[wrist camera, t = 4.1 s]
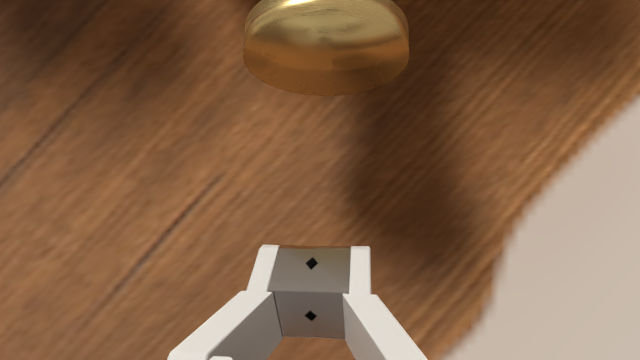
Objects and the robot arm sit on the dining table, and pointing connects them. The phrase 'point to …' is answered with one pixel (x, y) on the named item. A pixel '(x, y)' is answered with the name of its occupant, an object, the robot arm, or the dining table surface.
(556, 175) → the dining table surface
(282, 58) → the brass plug
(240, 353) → the robot arm
